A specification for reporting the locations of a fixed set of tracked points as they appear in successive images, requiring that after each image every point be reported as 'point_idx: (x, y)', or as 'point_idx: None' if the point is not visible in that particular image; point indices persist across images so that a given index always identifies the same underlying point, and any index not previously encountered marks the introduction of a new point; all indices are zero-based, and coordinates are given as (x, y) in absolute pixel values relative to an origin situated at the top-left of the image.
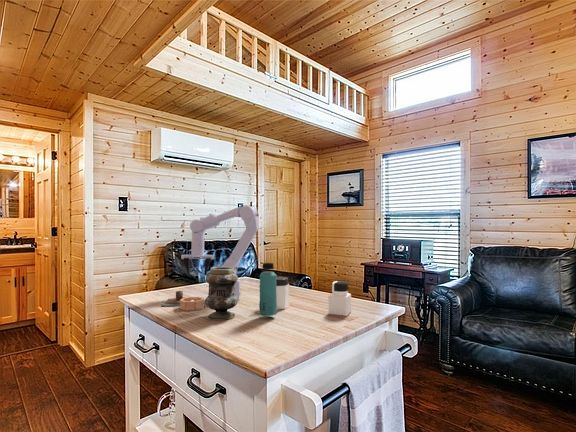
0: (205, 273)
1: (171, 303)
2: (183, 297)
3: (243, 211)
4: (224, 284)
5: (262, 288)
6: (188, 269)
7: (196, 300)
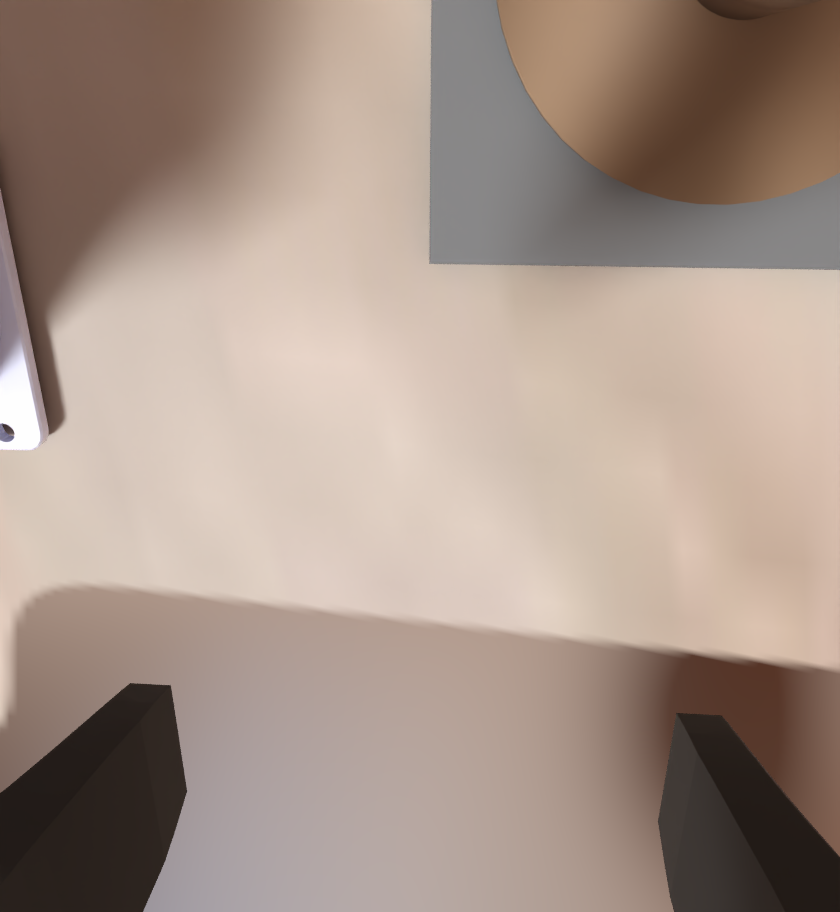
0: (114, 708)
1: None
2: (674, 193)
3: None
4: None
5: None
6: (763, 850)
7: None
